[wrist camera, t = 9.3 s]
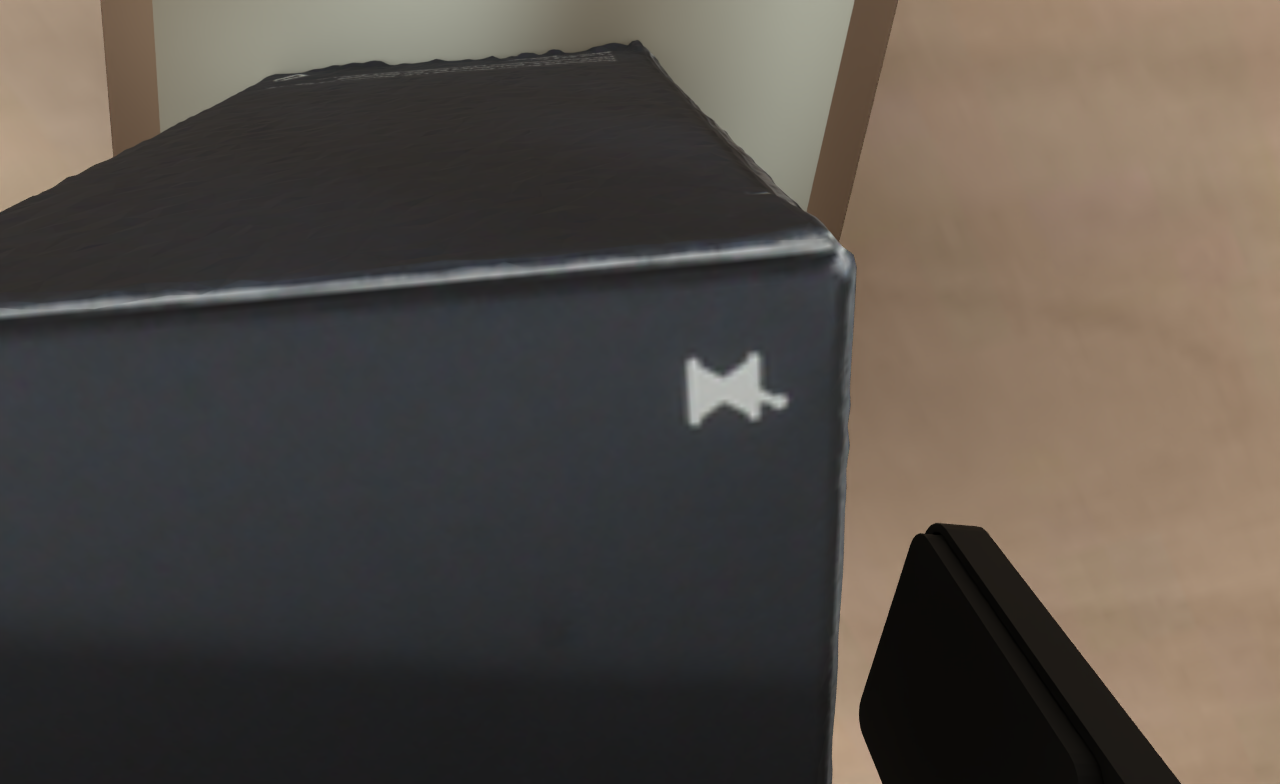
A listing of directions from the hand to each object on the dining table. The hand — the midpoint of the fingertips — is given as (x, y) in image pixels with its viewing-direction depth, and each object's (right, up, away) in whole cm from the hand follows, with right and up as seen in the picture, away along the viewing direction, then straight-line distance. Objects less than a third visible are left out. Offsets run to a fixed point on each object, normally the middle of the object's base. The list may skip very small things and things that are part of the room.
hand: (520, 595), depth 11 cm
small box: (-1, +3, +6) cm, 7 cm away
